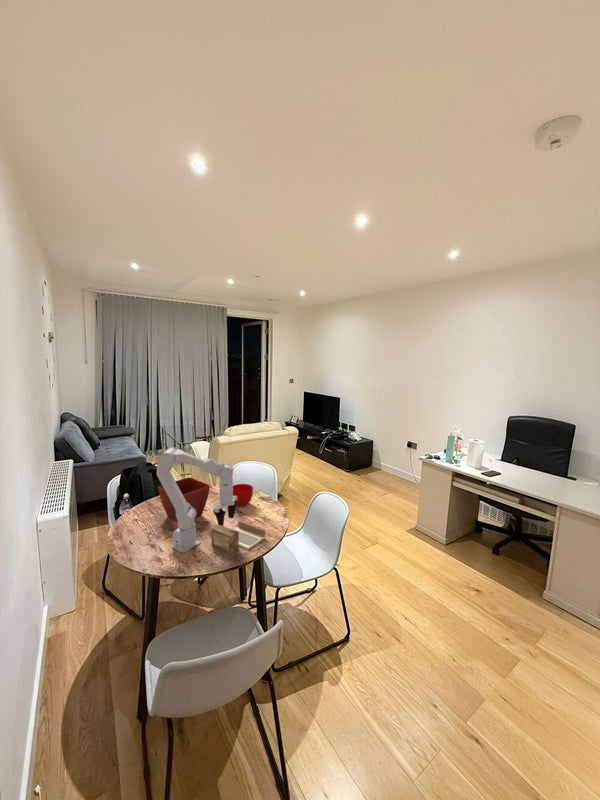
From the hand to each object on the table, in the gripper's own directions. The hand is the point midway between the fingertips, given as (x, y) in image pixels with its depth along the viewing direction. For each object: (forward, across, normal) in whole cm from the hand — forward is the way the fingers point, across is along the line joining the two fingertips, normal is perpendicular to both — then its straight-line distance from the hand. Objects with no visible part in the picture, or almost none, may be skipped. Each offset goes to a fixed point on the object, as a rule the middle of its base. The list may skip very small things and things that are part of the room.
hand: (226, 521), depth 145 cm
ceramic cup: (+11, +36, +18) cm, 42 cm away
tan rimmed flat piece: (+10, +7, -5) cm, 13 cm away
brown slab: (+10, -3, -2) cm, 11 cm away
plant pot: (+11, +12, +35) cm, 38 cm away
